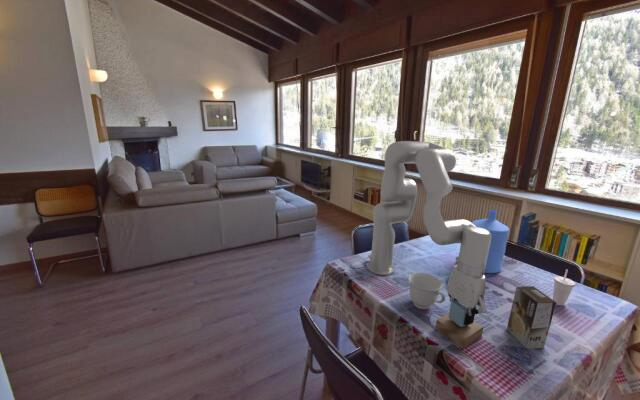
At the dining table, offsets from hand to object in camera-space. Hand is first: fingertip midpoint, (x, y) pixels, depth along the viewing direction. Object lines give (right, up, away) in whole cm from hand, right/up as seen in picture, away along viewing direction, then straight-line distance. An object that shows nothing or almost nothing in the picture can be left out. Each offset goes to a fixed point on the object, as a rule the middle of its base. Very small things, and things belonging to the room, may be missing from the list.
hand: (460, 317), depth 93 cm
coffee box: (+21, -7, 0) cm, 22 cm away
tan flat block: (0, -6, +2) cm, 6 cm away
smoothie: (+48, -2, +20) cm, 52 cm away
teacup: (-7, -2, +14) cm, 16 cm away
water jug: (+33, +6, +48) cm, 58 cm away
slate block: (0, -1, 0) cm, 1 cm away
